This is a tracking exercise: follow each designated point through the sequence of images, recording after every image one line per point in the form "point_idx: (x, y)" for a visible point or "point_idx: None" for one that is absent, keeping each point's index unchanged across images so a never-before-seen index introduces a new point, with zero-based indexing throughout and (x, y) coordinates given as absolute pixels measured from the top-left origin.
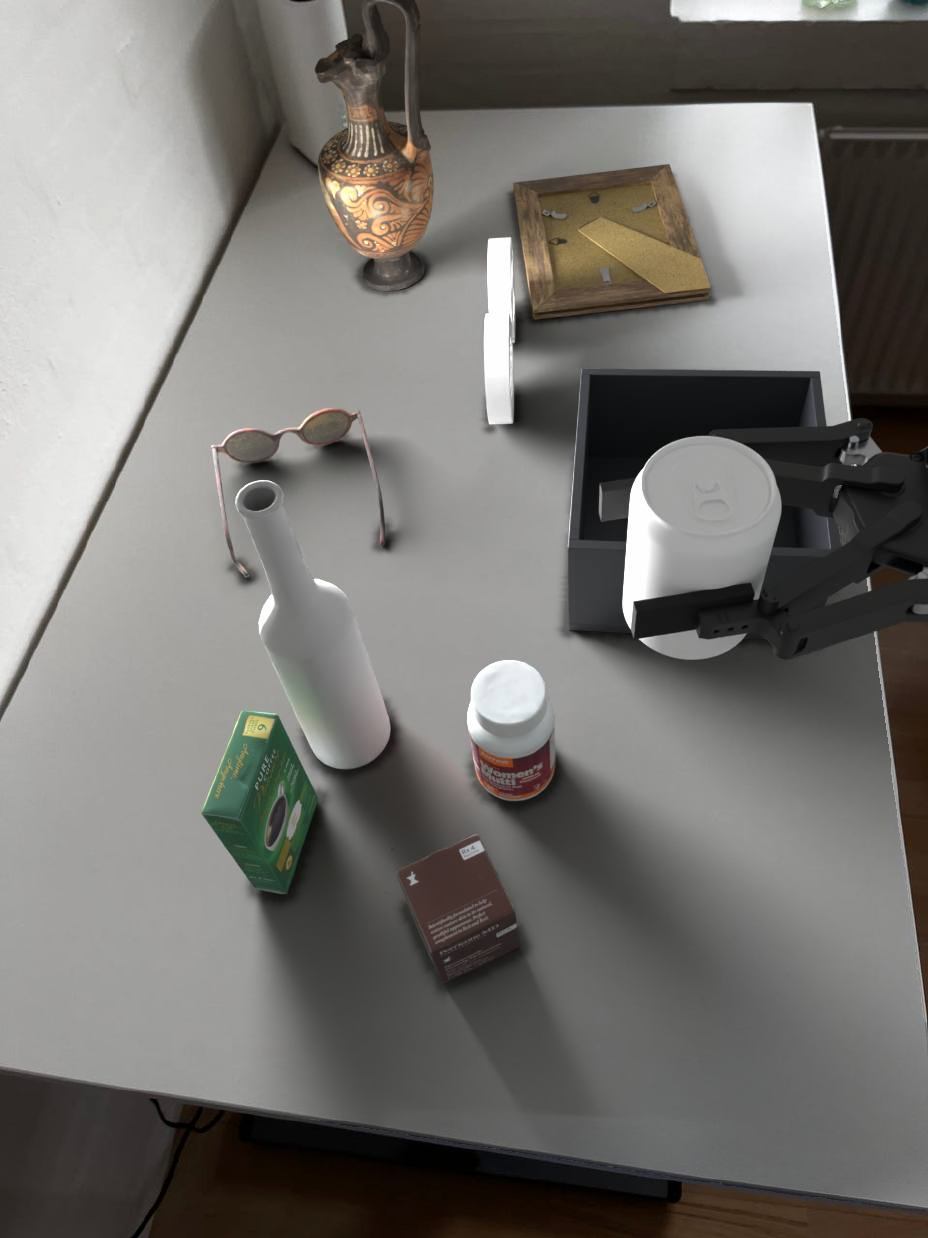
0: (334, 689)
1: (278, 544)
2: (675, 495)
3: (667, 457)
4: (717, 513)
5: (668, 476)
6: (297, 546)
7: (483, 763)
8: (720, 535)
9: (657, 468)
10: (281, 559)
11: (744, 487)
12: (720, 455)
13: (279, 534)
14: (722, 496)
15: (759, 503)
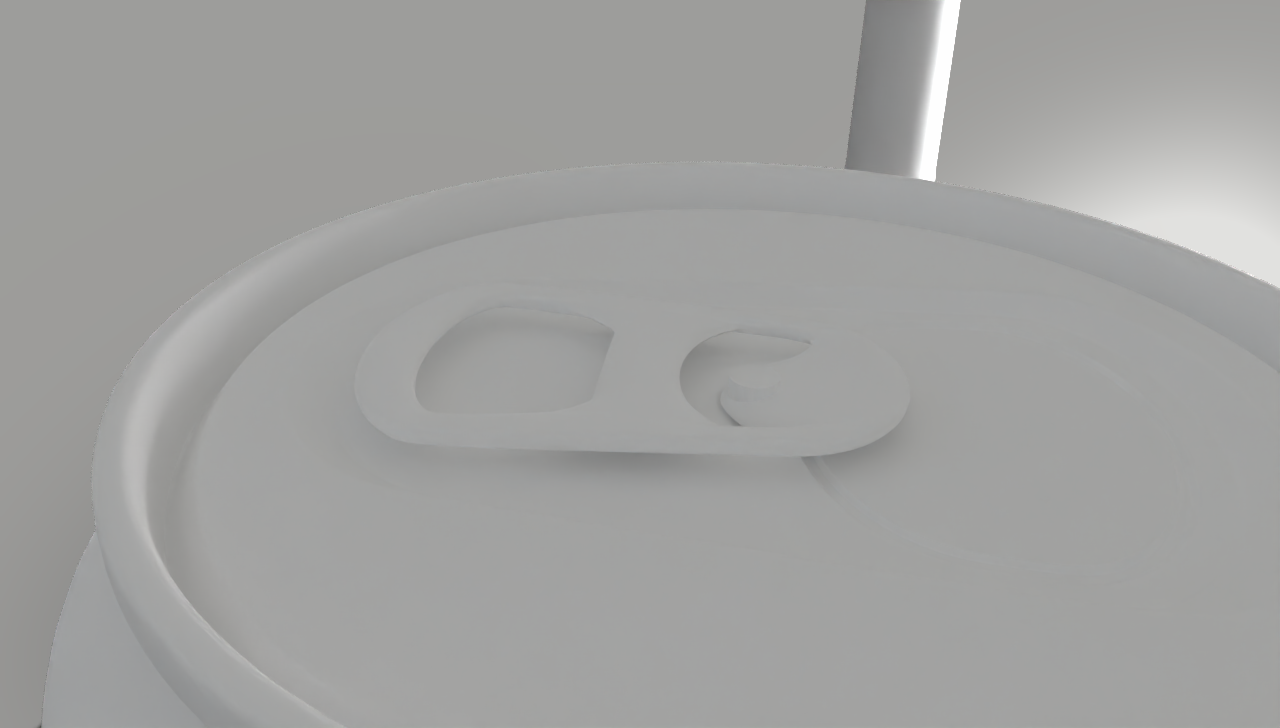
0: None
1: (863, 61)
2: (735, 269)
3: (1140, 305)
4: (466, 393)
5: (930, 277)
6: (897, 131)
7: None
8: (195, 295)
9: (1014, 259)
10: (856, 110)
11: (690, 597)
12: (1247, 562)
13: (872, 35)
14: (608, 406)
15: (376, 648)
